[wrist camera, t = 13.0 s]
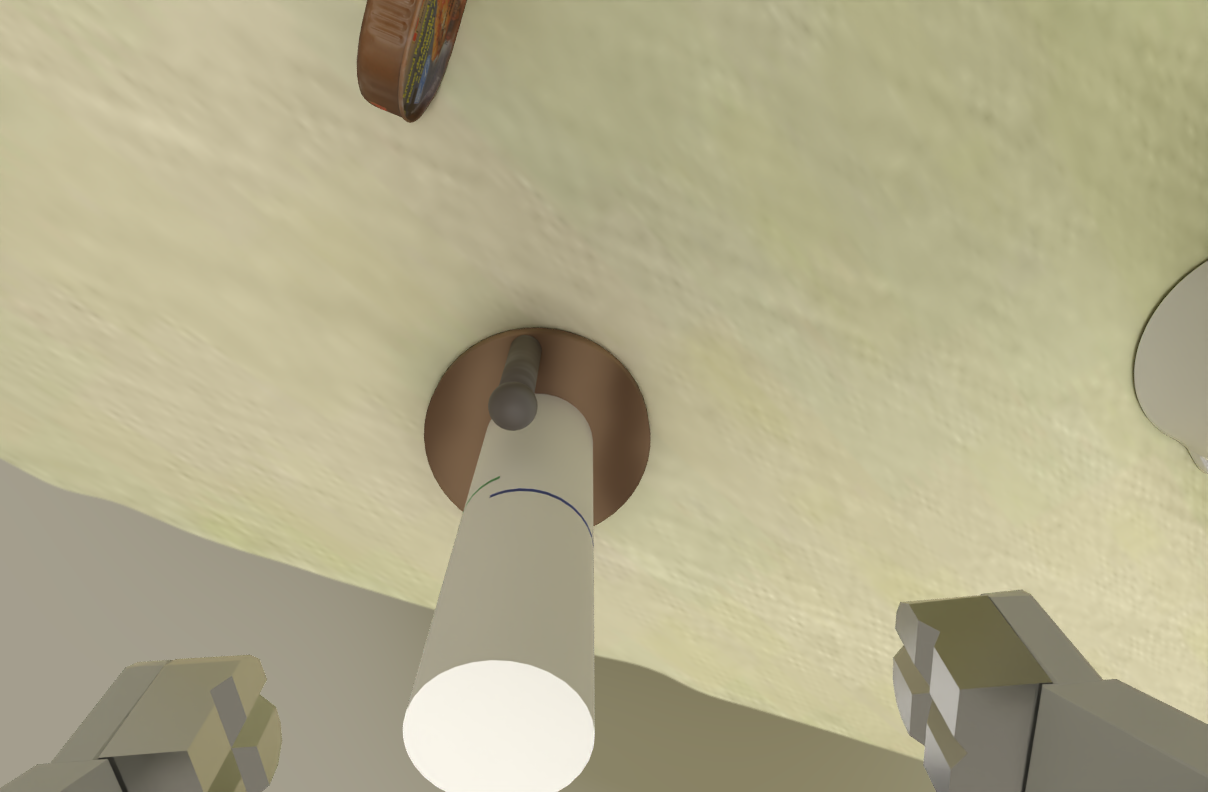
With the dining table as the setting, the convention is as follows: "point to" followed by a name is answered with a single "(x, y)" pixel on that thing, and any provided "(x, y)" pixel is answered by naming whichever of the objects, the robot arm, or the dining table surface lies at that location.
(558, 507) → the cylindrical container
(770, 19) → the dining table surface
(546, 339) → the roll holder
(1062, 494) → the dining table surface
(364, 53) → the tin
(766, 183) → the dining table surface
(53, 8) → the dining table surface
